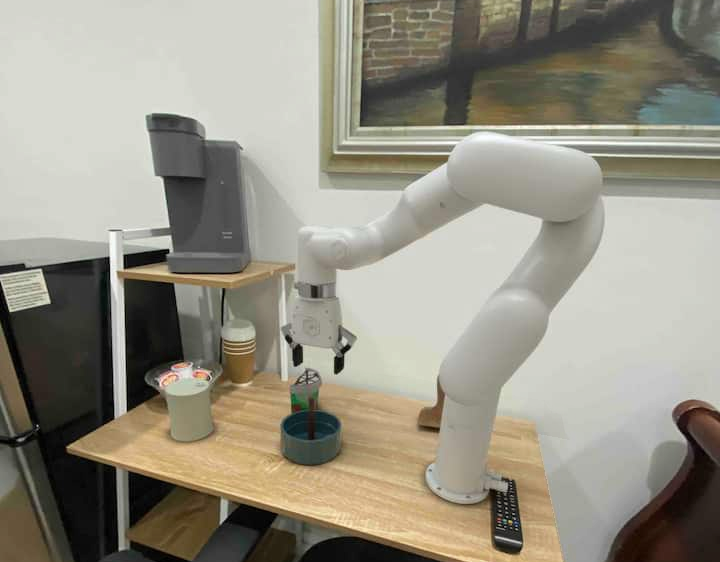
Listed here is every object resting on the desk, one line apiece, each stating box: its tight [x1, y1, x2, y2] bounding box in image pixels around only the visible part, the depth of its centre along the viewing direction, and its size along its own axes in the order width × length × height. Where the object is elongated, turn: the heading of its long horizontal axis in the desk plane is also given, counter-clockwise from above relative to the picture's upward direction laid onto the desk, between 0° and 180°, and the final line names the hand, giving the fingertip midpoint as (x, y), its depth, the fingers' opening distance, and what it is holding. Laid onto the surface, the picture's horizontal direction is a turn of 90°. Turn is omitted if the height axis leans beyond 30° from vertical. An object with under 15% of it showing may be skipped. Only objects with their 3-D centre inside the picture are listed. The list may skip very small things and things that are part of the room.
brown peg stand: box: [302, 395, 320, 440], centre depth 85 cm, size 4×4×12 cm
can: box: [164, 377, 214, 443], centre depth 89 cm, size 9×9×12 cm
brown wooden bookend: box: [417, 373, 445, 429], centre depth 98 cm, size 15×12×15 cm
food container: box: [289, 366, 323, 414], centre depth 100 cm, size 12×6×10 cm, turn 168°
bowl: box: [279, 409, 343, 466], centre depth 86 cm, size 13×13×6 cm
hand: (317, 368), depth 85 cm, fingers open, 9 cm apart
